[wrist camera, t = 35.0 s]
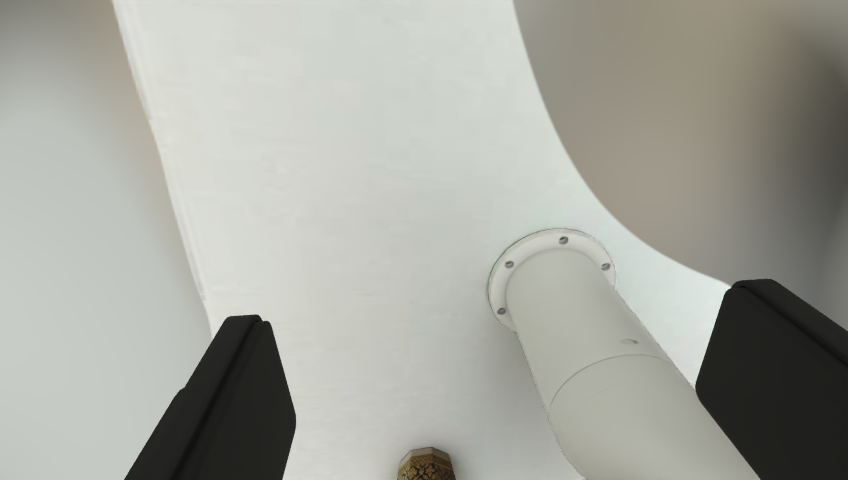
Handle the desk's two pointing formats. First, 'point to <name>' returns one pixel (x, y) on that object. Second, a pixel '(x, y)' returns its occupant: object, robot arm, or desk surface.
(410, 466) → the ceramic cup
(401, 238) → the desk surface
